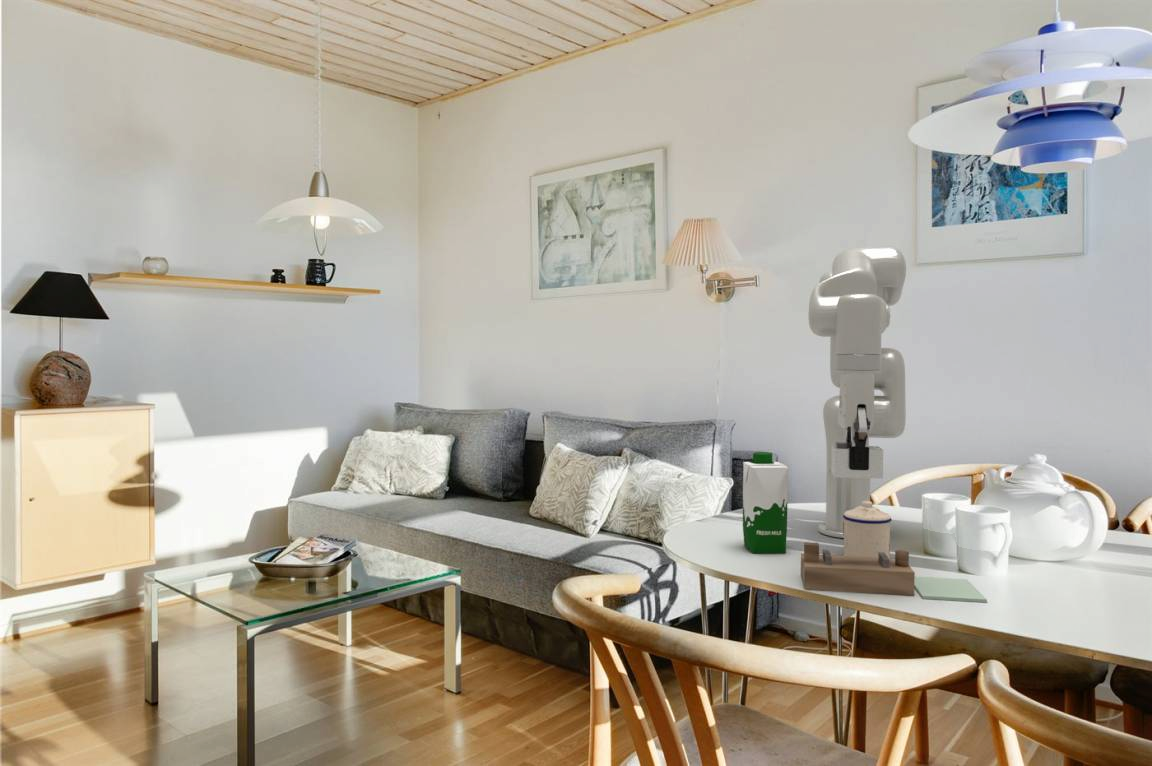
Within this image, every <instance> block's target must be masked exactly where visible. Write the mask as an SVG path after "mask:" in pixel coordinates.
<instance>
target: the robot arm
mask: <svg viewBox="0 0 1152 766" xmlns="http://www.w3.org/2000/svg"><path fill="white" fill-rule="evenodd" d="M831 267H832V268H831V270H830V271H827V272H825V273H823V274H822V275H821V277H820V279H819V282H818V284H816V285H815V286H814V288H813V289H812V291H811V294H810V296H809V303H808V324H809V328H810V330H811V332H812V333H813V334H814V335H816V336H817V337H823V338H824V337H825V338H827V337H828V338H830V339H829V342H830V344H829V345H830V354H829V357H830V358H829V359H830V360H829V363H830V364H829V366H830V368H829V370H830V379H831V382H832V385H834V386H835V387H836V388H838V389H839V395H835V396H831V397H830V398H828V399H827V400H826V401H825V402H824V404H823V408H822V415H823V416H822V418H823V425H824V432H825V441H826V442H825V443H826V444H825V446H826V448H825V449H826V482H825V483H826V484H825V485H826V489H825V490H826V491H825V492H826V493H825V494H826V497H825V498H826V499H825V503H826V504H825V522H823V523H821V524H819V526H818V531H819V533H821V534H823V535H825V536H829V537H834V538H840V539H844V535H843V532H842V522H843V520H844V518H843V515H844V513H845V512H846V511H848V510H853V509H855V508H856V507H858V506H862V502H863V501H870V502H871V478H847V477H834V476H833V474H832V473H831V458H832V445H835V442H851V447H849V468H850V469H851V470H868V469H869V446H870V441H869V438H872V439H873V438H874V439H878V438H879V439H895V438H899V437H901V436H902V434H904V431H905V427H906V420H907V419H906V407H907V406H906V366H905V361H904V357H903V354H902V353H901V352H900V351H899V350H898V349H896V348H891V347H882V335H883V333H884V332H885V331H886V330H887V328H889V326H890V323H891V322H890V321H891V308H890V307H891V306H894V305H896V304H897V303H898V302H899V301H900V300H901V296H902V292H903V288H904V284H905V281H906V275H907V263H906V258H905V256H904V254H903V252H902V251H901V250H900V249H898V248H897V247H894V246H871V247H866V246H865V247H852V248H847V249H844V250H842V251H841V252H839V253H838V254H837V255H836V256H835V258H834V260H833V261H832V266H831ZM875 390H876V391H880V392H882V393H883V395H875Z"/></svg>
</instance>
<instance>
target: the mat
mask: <svg viewBox="0 0 1152 766" xmlns="http://www.w3.org/2000/svg"><path fill="white" fill-rule="evenodd" d="M914 590H915V591H916V592H917V593H918V595H919V596H920V598H921V599H923V600H924V599H925V600H938V601H956V602H970V603H971V602H972V603H974V602H975V603H988V599H987V598H986V597H985V595H983V594H982V593H981V592H980V591H979V590H978V589H977V588H976V587H975V586H974V585H973V584H972V582H970V581H969V580H968V579H966V578H952V577H951V578H950V577H933V576H931V577H930V576H917V575H916V576H914Z"/></svg>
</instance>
